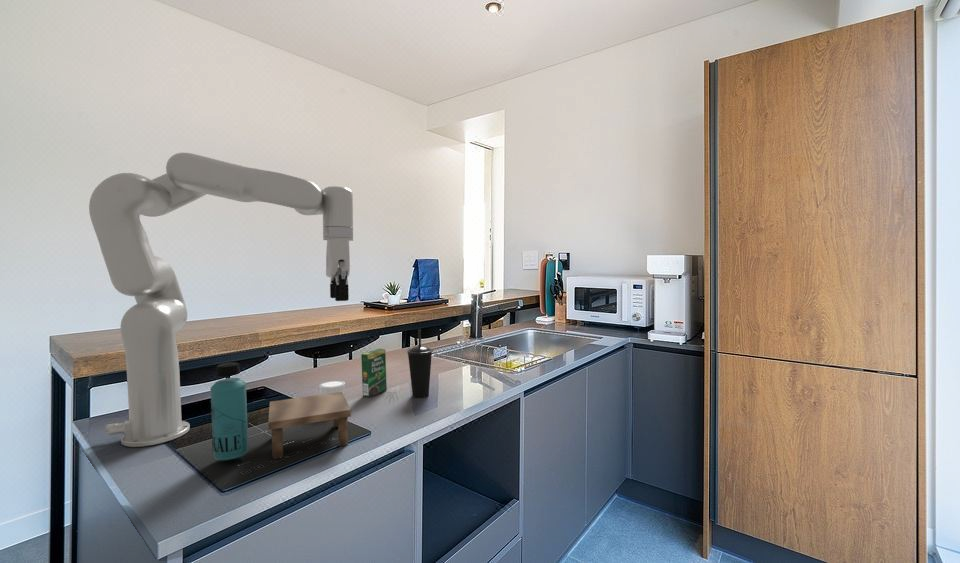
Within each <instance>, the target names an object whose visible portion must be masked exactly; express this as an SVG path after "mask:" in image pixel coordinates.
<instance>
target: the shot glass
mask: <svg viewBox="0 0 960 563" xmlns="http://www.w3.org/2000/svg"><path fill="white" fill-rule="evenodd" d="M318 386H319V387H318V388H319V395H322V394H329V393H336V392H342V393H343V395H344V397H345V396H346V395H345V394H346V382H345V381H343V380H329V381H324V382H321V383H320V384H319V385H318ZM345 398H346V397H345Z"/></svg>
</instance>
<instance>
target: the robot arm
mask: <svg viewBox="0 0 960 563" xmlns="http://www.w3.org/2000/svg"><path fill="white" fill-rule="evenodd" d="M165 172H166V173H165V174H162V175H160V176H157V177H155V178H153V179H150V178H149V177H146V176H143V175H140V174H137V173H133V172H132V173H131V172H122V173H117V174H114V175H111V176H109V177H106V178H105V179H103V181H101V182H100V183H98V184H97V186H96V187H95V189H94V190H93V192H92V193H91V196H90V199H89V204H88V213H89V217H90V220H91V225H92V227H93V230H94V232H95V235H96V238H97V241H98V244H99V247H100V251H101V254H102V257H103V260H104V263H105V266H106V269H107V272H108V276H109V278H110V281H111V283H112V285H113V287H114V288H115V290H117V292H118V293H120V294H122V295H124V296H129V297H134V299H135V302H136V304H134V305H132V306H131V307H129V309H128V310H126V312H125V313H124V314H123V316H122V318H121V322H120V335H121V336H120V337H121V339H122V343H123V348H124V354H125V365H126V366H125V367H126V380H127V381H126V382H127V384H126V385H127V399H128V401H127V402H128V420H124V422H121V423H120V422H119V423H117V422H116V423H115V422H114V423H109V424H106V426H105V433H106V434H108V435H109V436H113V435H118V434H122V437H121V438H120V443H121V445H123V446H125V447H128V448H129V447H131V448H140V447H142V448H143V447H148V446H155V445H159V444H163V443H167V442H170V441H173V440H175V439H178V438H181V437H182V436H184V435H186V433H188V432H189V431H190V430H191V429H190V428H191V427H190V426H191V425H190V423H189V422H188V421H184V420H182V404H181V403H182V402H181V401H182V400H181V380H180V379H181V376H180V364H179V363H180V359H179V351H178V345H177V340H176V333H178V332H179V331H181V330H182V328H184V326H185V325H186V323H187V320H188V309H187V306H186V302H185V299H184V296H183V293H182V290H181V288H180V285H179V281H178V279H177V275H176V273H175V271H174V269H173V267H172V266H171V264H170V263H169V262H167V261H166V260H165V259H163V258H161V257H158V256H156V255H154V253H153V250H152V248H151V245H150V244H151V243H150V242H149V237H148V234H147V232H146V230H145V228H144V226H143V224H142V222H141V217H140V215H141V216H143V217H144V216H145V217H152V218H153V217H161V216H164V215H167V214H169V213H171V212H174V211H175V210H177V209H179V208H182V207H184V206H186V205H188V204H191V203H192V202H194V201H197V200H198V199H201V198H203V197H204V196H206V195H210V196H213V197H214V196H215V197H218V198H224V199H228V200H233V201H236V202H241V203H253V202H261V203H268V204H273V205H278V206H283V207H287V208H291V209H293V210H295V212H297V213H299V214H300V215H303V216H317V215H322V239H323V241H326V249H325V250H326V252H325V255H326V256H325V258H326V260H325V261H326V262H325V276H326V277H327V278H330V283H329V289H330V290H329V292H330V293H329V295H330V297H329V298H330V299H334V300H335V301H336V302H347V301H349V296H350V295H349V281H348V277H349V276H350V272H351V271H350V270H351V269H350V268H351V267H350V266H351V265H350V264H351V262H350V259H351V258H350V256H351V255H350V241H354V206H353V204H354V203H353V200H354V199H353V191H352V190H351V189H350V188H348V187H344V186H335V185H334V186H327V187H324V189H323V188H321V189H320V188H319V186H318V185H317V184H315V183H314V182H312V181H310V180H307V179H304V178H301V177H297V176H293V175H289V174H285V173H281V172H277V171H271V170H265V169H259V168H255V167H248V166H243V165H239V164H236V163H231V162H228V161H227V162H226V161H224V160H219V159H215V158H211V157H207V156H204V155H200V154H196V153H192V152H191V153H190V152H179V153H175V154H173V155H171V156H170V157H169V158H168V160H167V161H166V166H165Z"/></svg>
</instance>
